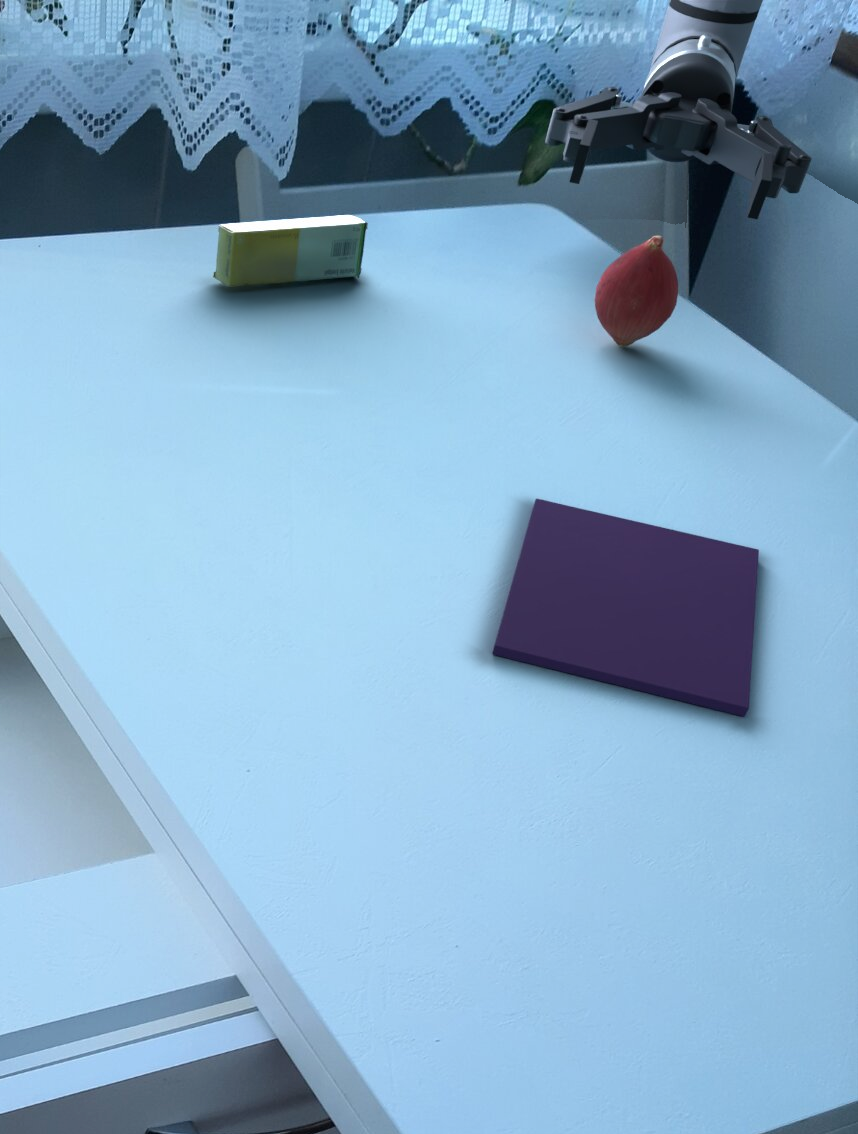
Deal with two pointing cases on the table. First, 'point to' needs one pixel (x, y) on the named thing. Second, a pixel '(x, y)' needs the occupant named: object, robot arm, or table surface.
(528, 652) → the mat
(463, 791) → the table surface
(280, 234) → the medication box
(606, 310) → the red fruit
